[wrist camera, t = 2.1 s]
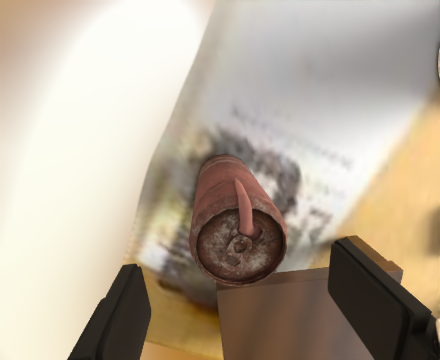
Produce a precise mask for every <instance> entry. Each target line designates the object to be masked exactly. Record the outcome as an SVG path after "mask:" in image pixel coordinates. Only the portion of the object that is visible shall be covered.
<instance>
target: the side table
mask: <svg viewBox="0 0 440 360" xmlns="http://www.w3.org/2000/svg"><path fill="white" fill-rule="evenodd" d="M346 240H349V241H351V242H352V243H353V244H354V245H355V246H357V247H358V248H359V249H360V250H361V251H362V252H363V253H365V254H366V255H367V256H368V257H369V258H370V259H371V260H373V261H374V262H375V263H376V264H377V265H378V266H380V267H381V268H382V269H383V270H384V271H385V272H386V273H388V274H389V275H390V276H391V277H392V278H393V279H395V280H396V281H397V282H398V283H399V284H400V283H401V279H402V275H403V270H402V269H401V268H400V267H399V266H397V265H396V264H395V263H394V262H392V261H387V260H386V259H385V258H384V257H382V256H381V255H380V254H379V253H378V252H376V251H375V250H374V249H373V248H371V247H370V246H369V245H368V244H367V243H365V242H364V241H363V240H362V239H361V238H359V237H358V236H349V237H346ZM328 276H329V267H327V268H317V269H308V270H299V271H289V272H280V273H272V274H271V275H270V276H268V277H267V278H266V279H264V280H262V281H259V282H257V283H255V284H253V285H247V286H240V287H236V286H226V285H223V284H220V283H217V282H216V293H217V302H218V311H219V320H220V329H221V338H222V347H223V356H224V360H374V358H373V357H372V355H371V354H370V352H369V351H368V350H367V348H366V347H365V345H364V344H363V342H362V341H361V339H360V338H359V337H358V335H357V334H356V332H355V331H354V329H353V328H352V326H351V325H350V324H349V322H348V321H347V319H346V318H345V316H344V315H343V314H342V312H341V311H340V309H339V308H338V306H337V305H336V303H335V302H334V301H333V299H332V298H331V296H330V295H329V292H328V287H327V286H328Z"/></svg>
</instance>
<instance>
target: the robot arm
mask: <svg viewBox="0 0 440 360" xmlns="http://www.w3.org/2000/svg"><path fill="white" fill-rule="evenodd" d="M438 69H439V77H440V50H439V59H438ZM327 287H328V292H329V295H330V296H331V298H332V299H333V301H334V302H335V303H336V305H337V306H338V308H339V309H340V311H341V312H342V314H343V315H344V316H345V318H346V319H347V321H348V322H349V324H350V325H351V326H352V328H353V329H354V331H355V332H356V334H357V335H358V337H359V338H360V339H361V341H362V342H363V344H364V345H365V347H366V348H367V350H368V351H369V352H370V354H371V355H372V357H373V358H374V360H440V318H438V319H436V318H435V317H434V316H433V315H431V313H432V312H431V311H430V310H429V309H428V308H427V307H426V306H424V305H423V304H422V303H421V302H420V301H419V300H418V299H416V298H415V297H414V296H413V295H412V294H411V293H409V292H408V291H407V290H406V289H405V288H404V287H403V286H401V285H400V284H399V283H398V282H397V281H396V280H395V279H393V278H392V277H391V276H390V275H389V274H388V273H386V272H385V271H384V270H383V269H382V268H381V267H380V266H378V265H377V264H376V263H375V262H374V261H373V260H371V259H370V258H369V257H368V256H367V255H366V254H365V253H363V252H362V251H361V250H360V249H359V248H358V247H357V246H355V245H354V244H353V243H352V242H351V241H349V240H339V241H335V242H334V244H332V246H331V254H330V265H329V276H328V286H327ZM150 319H151V306H150V302H149V298H148V294H147V290H146V285H145V281H144V277H143V273H142V269H141V267H140V266H139V267H138V266H137V264H128V265H123V266H122V268H121V269H120V271H119V273H118V275H117V277H116V279H115V280H114V282H113V284H112V286H111V288H110V290H109V292H108V293H107V295H106V297H105V298H103V299H102V300H101V301H100V302H99V304H98V306H97V307H96V309H95V311H94V313H93V315H92V316H91V318H90V320H89V322H88V324H87V325H86V327H85V329H84V331H83V332H82V334H81V336H80V338H79V340H78V341H77V343H76V345H75V347H74V348H73V350H72V352H71V354H70V356H69V357H68V359H67V360H140V356H141V353H142V349H143V345H144V341H145V338H146V334H147V330H148V326H149V323H150Z"/></svg>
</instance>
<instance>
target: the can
mask: <svg viewBox="0 0 440 360" xmlns="http://www.w3.org/2000/svg"><path fill="white" fill-rule="evenodd" d="M286 242H287V228H286V224H285V222H284V220H283V217H282V215H281V213H280V212H279V210H278V209H277V208H276V206H275V205H274V204H273V202H272V201H271V199H270V198H269V197H268V195H267V194H266V193H265V191H264V190H263V188H262V187H261V186H260V184H259V183H258V182H257V180H256V179H255V177H254V176H253V175H252V173H251V172H250V171H249V169H248V168H247V166H246V165H245V164H244V163H243V162H242V161H241V160H240V159H239V158H237V157H235V156H233V155H227V154H222V155H216V156H214V157H212V158H210V159H208V160H207V161H206V162H205V163H204V164H203V165H202V167H201V169H200V171H199V176H198V182H197V189H196V196H195V203H194V209H193V216H192V223H191V229H190V236H189V245H190V249H191V254H192V256H193V257H194V259H195V261H196V263H197V265H198V266H199V268H200V269H201V271H202V272H203V273H204V274H205V275H206V276H207V277H209V278H210V279H211V280H213V281H215V282H217V283H220V284H223V285H226V286H236V287H240V286H247V285H253V284H255V283H257V282H259V281H262V280H264V279H266V278H267V277H268V276H270V275H271V274H272V273H273V272H275V271H276V269H277V268H278V267H279V265H280V264H281V262H282V261H283V259H284V255H285V252H286V249H287V245H286Z"/></svg>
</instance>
